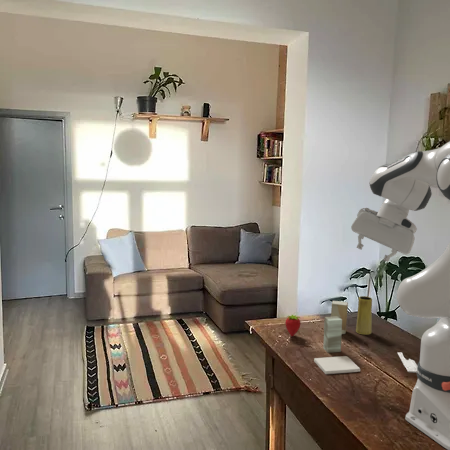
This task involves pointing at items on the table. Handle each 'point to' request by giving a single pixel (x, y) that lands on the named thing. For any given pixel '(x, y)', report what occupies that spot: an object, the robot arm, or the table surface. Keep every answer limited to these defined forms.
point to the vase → (364, 315)
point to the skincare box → (340, 312)
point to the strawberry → (292, 324)
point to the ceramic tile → (336, 365)
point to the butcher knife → (408, 363)
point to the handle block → (332, 334)
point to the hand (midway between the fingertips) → (371, 254)
